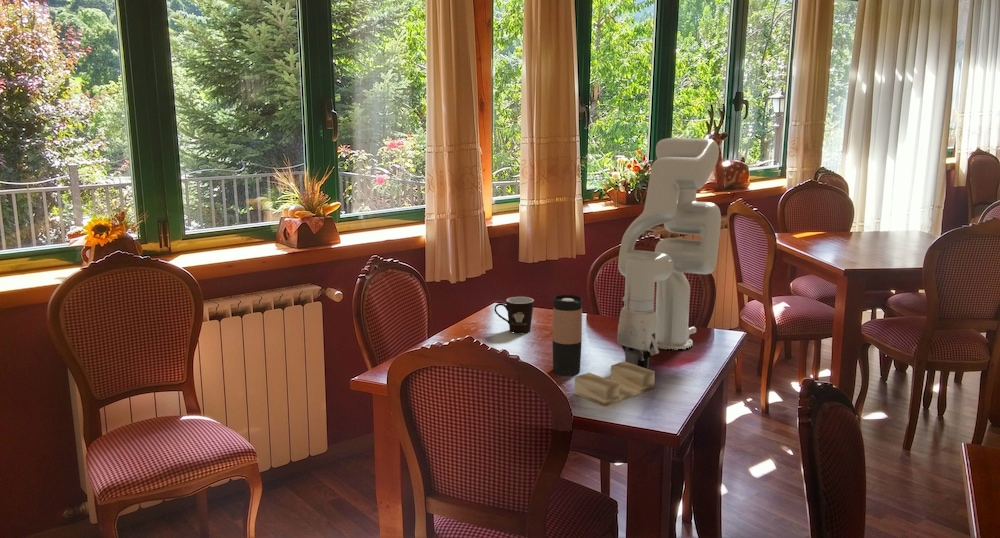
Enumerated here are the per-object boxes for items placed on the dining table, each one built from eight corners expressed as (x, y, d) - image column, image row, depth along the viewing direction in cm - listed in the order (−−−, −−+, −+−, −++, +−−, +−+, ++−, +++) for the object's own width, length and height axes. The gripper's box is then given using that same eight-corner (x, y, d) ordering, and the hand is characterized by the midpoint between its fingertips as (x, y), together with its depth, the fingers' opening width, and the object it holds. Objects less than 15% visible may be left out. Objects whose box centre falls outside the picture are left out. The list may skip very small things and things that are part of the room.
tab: (639, 368, 202) (640, 347, 201) (648, 371, 200) (649, 350, 199) (624, 373, 199) (625, 352, 197) (633, 377, 196) (634, 355, 195)
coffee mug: (538, 329, 238) (539, 299, 236) (524, 336, 231) (524, 305, 229) (507, 324, 244) (507, 294, 242) (492, 330, 237) (492, 300, 235)
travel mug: (551, 366, 205) (552, 294, 201) (579, 366, 205) (581, 294, 200) (552, 375, 197) (553, 301, 193) (581, 376, 197) (583, 301, 193)
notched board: (623, 377, 196) (624, 361, 195) (654, 388, 188) (654, 371, 188) (574, 393, 185) (574, 376, 184) (604, 406, 177) (605, 388, 176)
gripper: (605, 300, 199) (604, 367, 203) (654, 313, 187) (651, 383, 191) (624, 296, 204) (622, 361, 208) (673, 308, 191) (670, 377, 195)
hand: (636, 371), depth 199 cm, fingers closed on tab, 3 cm apart
